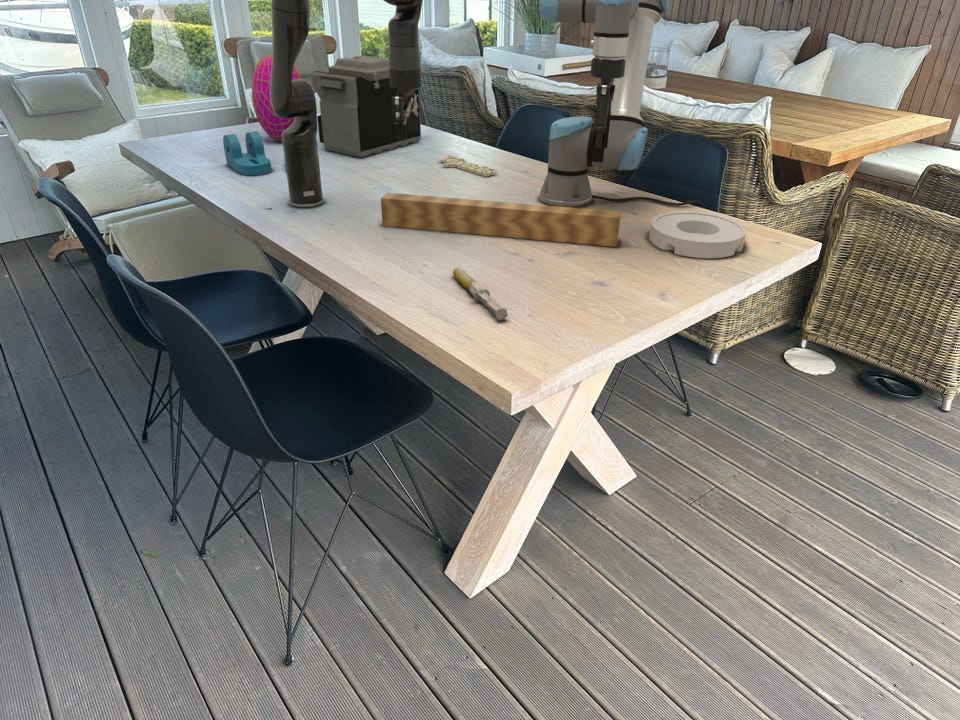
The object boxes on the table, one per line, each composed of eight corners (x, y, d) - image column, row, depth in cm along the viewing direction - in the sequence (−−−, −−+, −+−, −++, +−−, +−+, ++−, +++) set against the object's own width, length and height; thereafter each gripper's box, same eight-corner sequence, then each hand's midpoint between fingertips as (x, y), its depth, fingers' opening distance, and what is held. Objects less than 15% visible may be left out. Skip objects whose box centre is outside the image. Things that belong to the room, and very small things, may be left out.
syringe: (449, 274, 155) (449, 263, 153) (465, 272, 156) (464, 260, 154) (490, 323, 135) (491, 310, 133) (508, 319, 136) (508, 307, 134)
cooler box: (383, 133, 276) (378, 52, 261) (425, 141, 265) (422, 56, 250) (314, 150, 251) (304, 61, 235) (358, 160, 240) (350, 67, 224)
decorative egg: (293, 132, 276) (283, 50, 261) (319, 140, 264) (310, 56, 249) (249, 139, 265) (236, 54, 250) (273, 148, 253) (261, 60, 238)
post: (617, 240, 175) (621, 211, 171) (616, 247, 171) (620, 217, 167) (388, 219, 187) (387, 192, 183) (382, 225, 182) (380, 198, 179)
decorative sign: (429, 159, 238) (452, 154, 244) (429, 162, 238) (452, 157, 244) (480, 175, 221) (502, 170, 227) (480, 178, 221) (502, 173, 227)
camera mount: (227, 164, 233) (221, 132, 227) (257, 160, 238) (252, 129, 233) (244, 176, 220) (239, 143, 215) (276, 172, 225) (271, 139, 220)
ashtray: (641, 224, 185) (643, 210, 183) (728, 226, 184) (731, 212, 182) (658, 257, 165) (660, 241, 163) (755, 259, 164) (759, 243, 162)
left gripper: (399, 61, 170) (402, 129, 178) (379, 69, 158) (383, 141, 166) (428, 63, 168) (430, 131, 177) (410, 71, 156) (413, 143, 165)
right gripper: (596, 50, 163) (588, 141, 174) (586, 64, 142) (577, 166, 153) (628, 51, 162) (618, 143, 173) (623, 65, 141) (611, 169, 152)
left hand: (407, 136), depth 171 cm, fingers open, 8 cm apart
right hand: (599, 154), depth 163 cm, fingers open, 13 cm apart
